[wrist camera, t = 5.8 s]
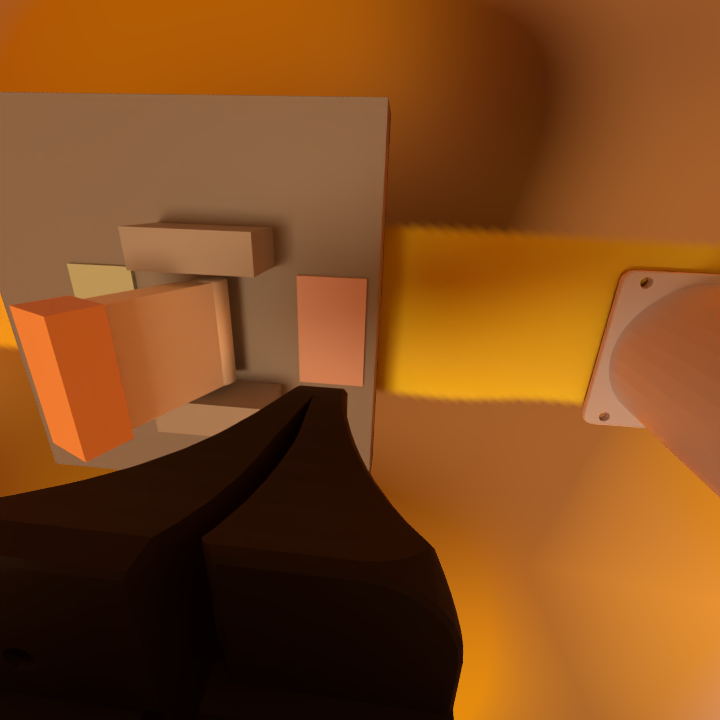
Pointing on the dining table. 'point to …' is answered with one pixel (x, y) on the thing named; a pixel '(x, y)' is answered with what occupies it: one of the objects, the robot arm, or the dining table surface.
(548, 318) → the dining table surface
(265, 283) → the panel
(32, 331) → the toggle lever
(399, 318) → the dining table surface
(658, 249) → the dining table surface
